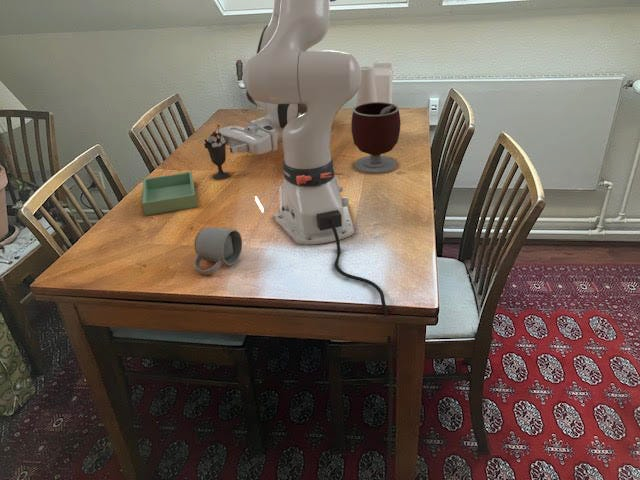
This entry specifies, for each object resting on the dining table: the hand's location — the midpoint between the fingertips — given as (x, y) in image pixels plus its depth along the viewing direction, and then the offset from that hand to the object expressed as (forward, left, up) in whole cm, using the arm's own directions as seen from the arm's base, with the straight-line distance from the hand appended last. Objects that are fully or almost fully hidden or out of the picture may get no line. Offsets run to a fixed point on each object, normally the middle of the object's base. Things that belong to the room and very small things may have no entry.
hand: (221, 147), depth 153 cm
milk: (+20, -58, -9) cm, 62 cm away
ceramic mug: (-49, +7, -9) cm, 50 cm away
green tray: (-11, +16, -9) cm, 21 cm away
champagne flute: (+8, -48, -9) cm, 49 cm away
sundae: (-1, +1, -9) cm, 9 cm away
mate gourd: (-12, -44, -9) cm, 46 cm away
